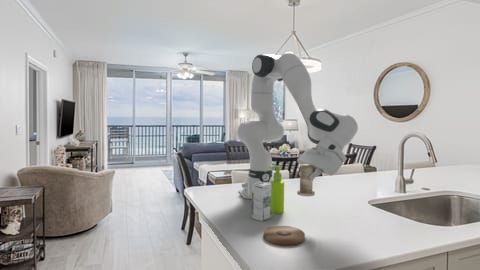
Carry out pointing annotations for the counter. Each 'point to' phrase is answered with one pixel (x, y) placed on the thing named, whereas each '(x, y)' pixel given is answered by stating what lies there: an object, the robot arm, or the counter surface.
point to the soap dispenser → (277, 192)
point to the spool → (306, 181)
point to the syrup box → (261, 201)
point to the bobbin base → (284, 235)
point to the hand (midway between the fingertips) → (305, 177)
